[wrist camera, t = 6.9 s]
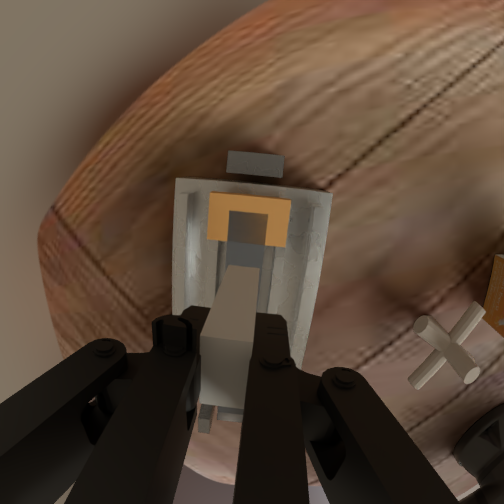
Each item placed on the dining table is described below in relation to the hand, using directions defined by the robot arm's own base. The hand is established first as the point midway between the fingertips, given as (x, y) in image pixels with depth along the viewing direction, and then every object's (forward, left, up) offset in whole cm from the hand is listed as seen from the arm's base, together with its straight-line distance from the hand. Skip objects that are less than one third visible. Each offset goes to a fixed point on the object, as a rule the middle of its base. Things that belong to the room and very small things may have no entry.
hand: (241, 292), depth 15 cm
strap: (-6, 0, -6) cm, 9 cm away
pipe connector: (-7, -20, -12) cm, 24 cm away
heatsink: (-5, 0, -12) cm, 13 cm away
